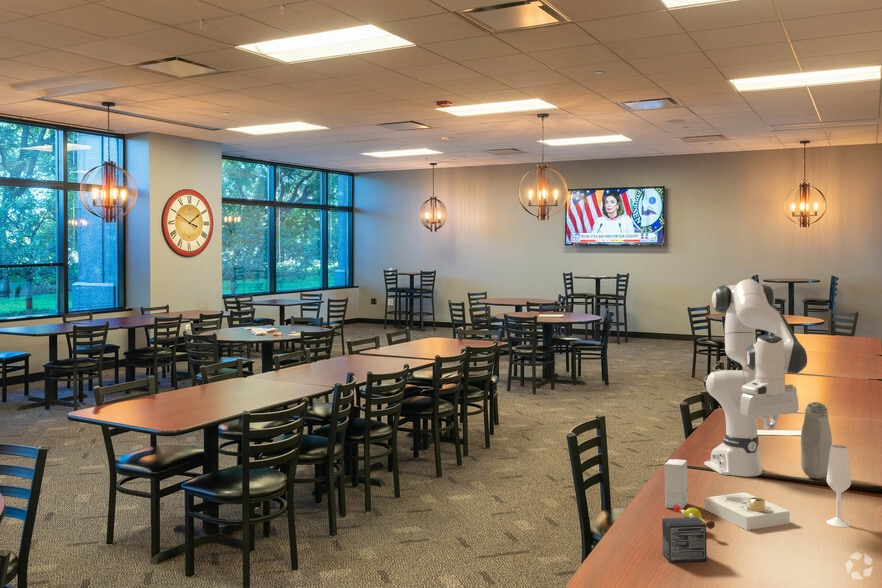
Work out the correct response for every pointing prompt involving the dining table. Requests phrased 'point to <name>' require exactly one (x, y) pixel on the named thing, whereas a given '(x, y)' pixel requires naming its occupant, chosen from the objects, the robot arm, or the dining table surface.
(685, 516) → the toy figure
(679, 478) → the skincare box
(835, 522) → the champagne flute
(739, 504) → the jig
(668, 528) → the small box
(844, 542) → the dining table surface
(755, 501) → the bushing
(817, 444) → the grey bottle
